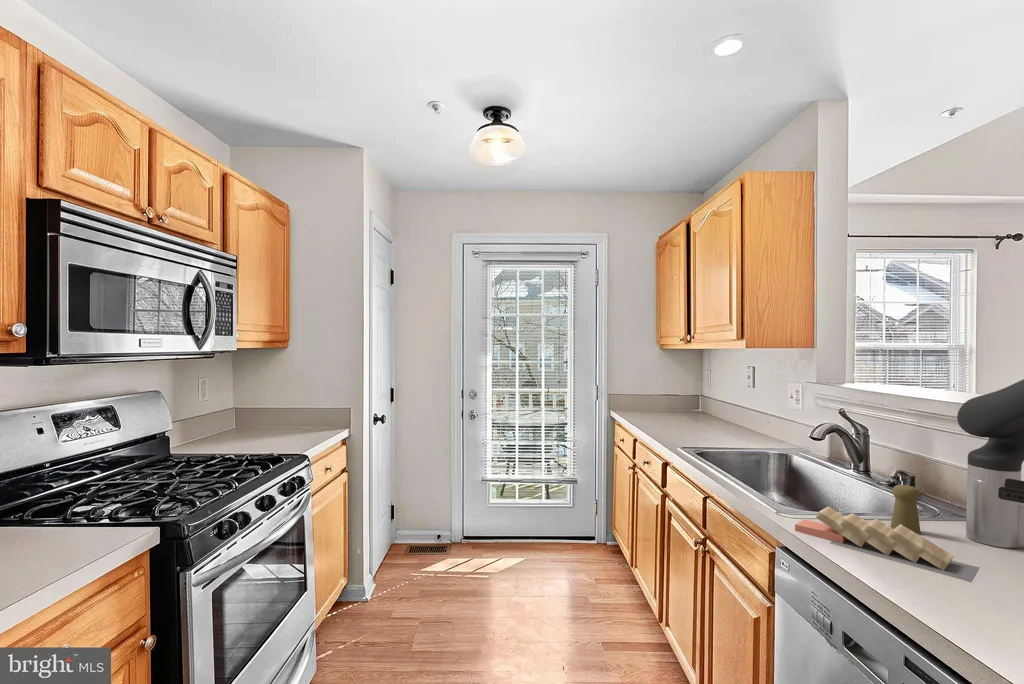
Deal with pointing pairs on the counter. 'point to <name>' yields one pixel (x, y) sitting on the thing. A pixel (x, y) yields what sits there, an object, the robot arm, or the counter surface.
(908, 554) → the domino
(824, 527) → the domino
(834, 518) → the domino
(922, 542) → the domino
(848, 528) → the domino
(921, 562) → the mat
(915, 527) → the cork
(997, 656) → the counter surface
